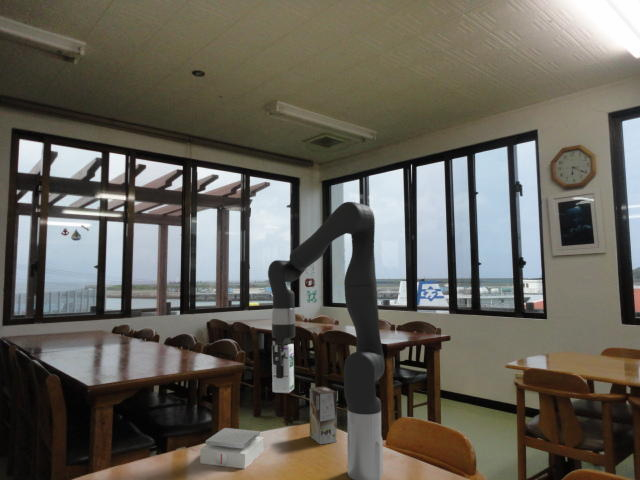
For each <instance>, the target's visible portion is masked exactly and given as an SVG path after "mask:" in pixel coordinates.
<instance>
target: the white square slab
mask: <svg viewBox="0 0 640 480" xmlns="http://www.w3.org/2000/svg"><path fill="white" fill-rule="evenodd" d="M264 450H265V437H263V436H258V437H256V438H255V439H254V440H253V441H252V442H251V443H249V444H248V445H247V446H246V447H245V448H234V447H225V446H216V445H207V444H205V445H204V446H203V447H201V448H200V450H199V451H200V452H199V455H200V457H199V461H200V462H199V464H203V465H210V466H217V467H219V466H220V467H225V468H226V467H229V468H237V469H243V470H244V469H246V468H248V466H249V465H251V463H253V462H254V461H255V460H256V459H257V457H259V456H260V455H261V454H262V453H263V452H264Z"/></svg>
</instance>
